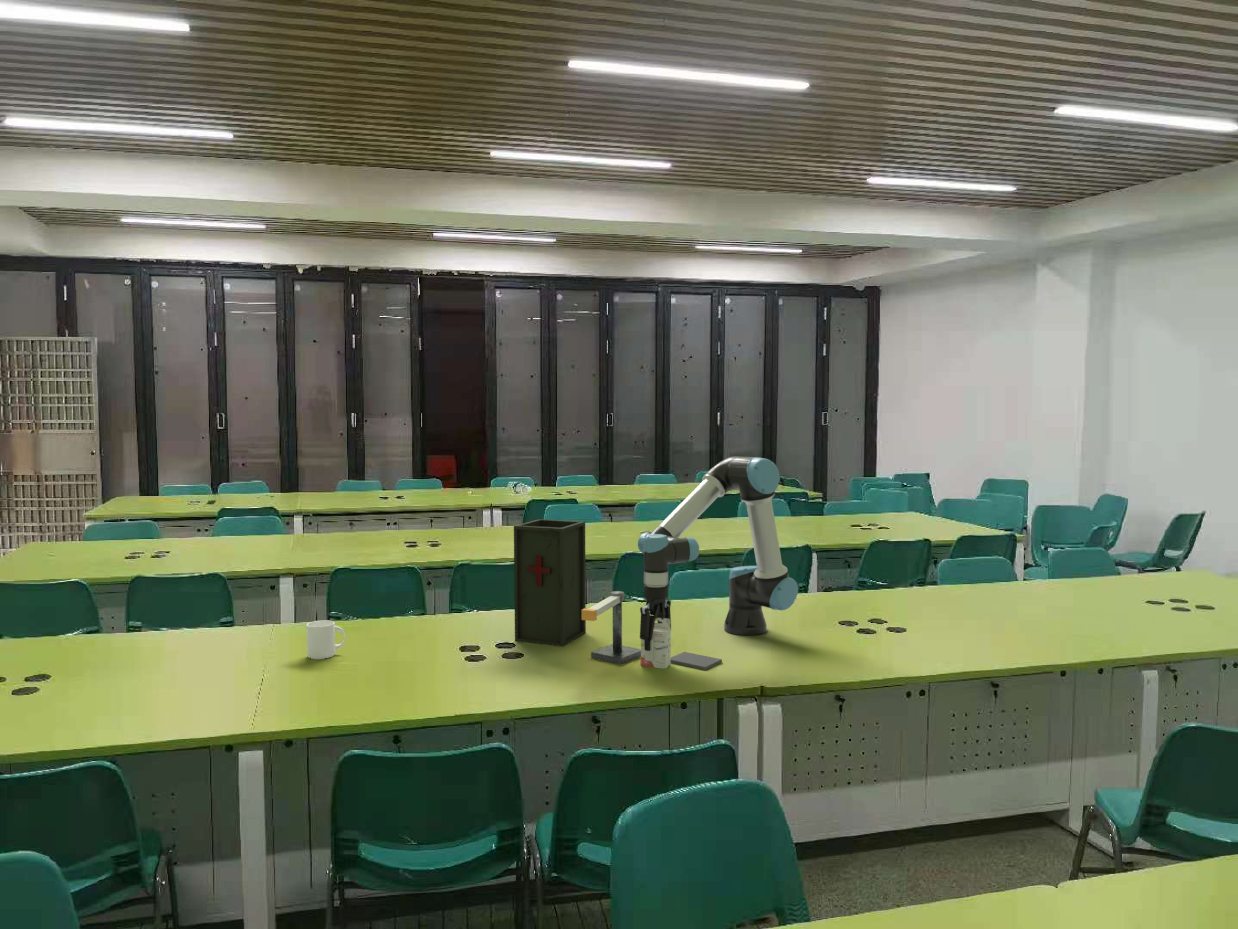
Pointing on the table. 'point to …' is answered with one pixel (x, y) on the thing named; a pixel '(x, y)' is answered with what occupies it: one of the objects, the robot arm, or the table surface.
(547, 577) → the first aid box
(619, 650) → the arm post
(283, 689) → the table surface
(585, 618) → the bar
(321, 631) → the mug
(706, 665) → the rubber mat
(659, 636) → the ink cartridge box
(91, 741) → the table surface
